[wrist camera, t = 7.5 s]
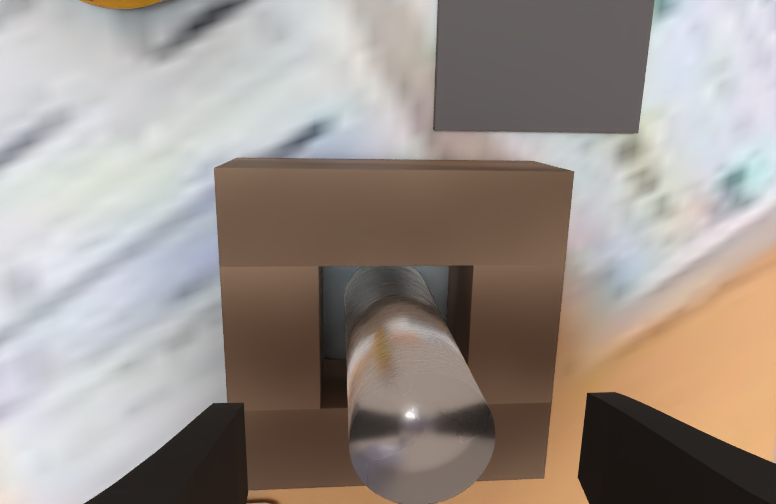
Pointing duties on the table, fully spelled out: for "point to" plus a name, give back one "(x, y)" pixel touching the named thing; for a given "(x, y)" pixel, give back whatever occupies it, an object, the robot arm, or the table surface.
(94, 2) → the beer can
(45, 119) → the table surface
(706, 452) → the robot arm
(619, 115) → the rubber mat
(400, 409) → the steel peg
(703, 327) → the table surface
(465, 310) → the walnut block
